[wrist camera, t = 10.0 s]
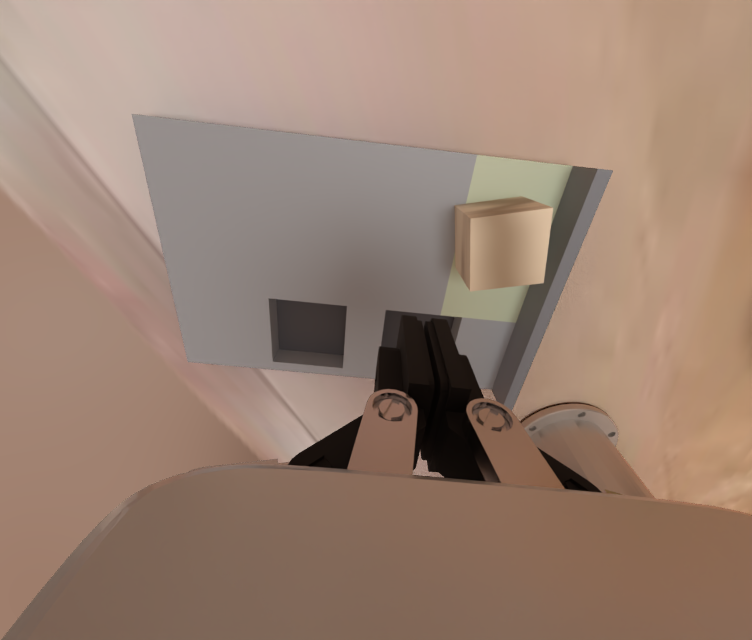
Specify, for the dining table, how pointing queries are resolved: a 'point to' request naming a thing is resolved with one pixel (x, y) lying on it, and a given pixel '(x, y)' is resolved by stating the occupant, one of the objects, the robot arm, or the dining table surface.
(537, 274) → the block
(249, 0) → the dining table surface
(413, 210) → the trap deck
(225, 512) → the robot arm
